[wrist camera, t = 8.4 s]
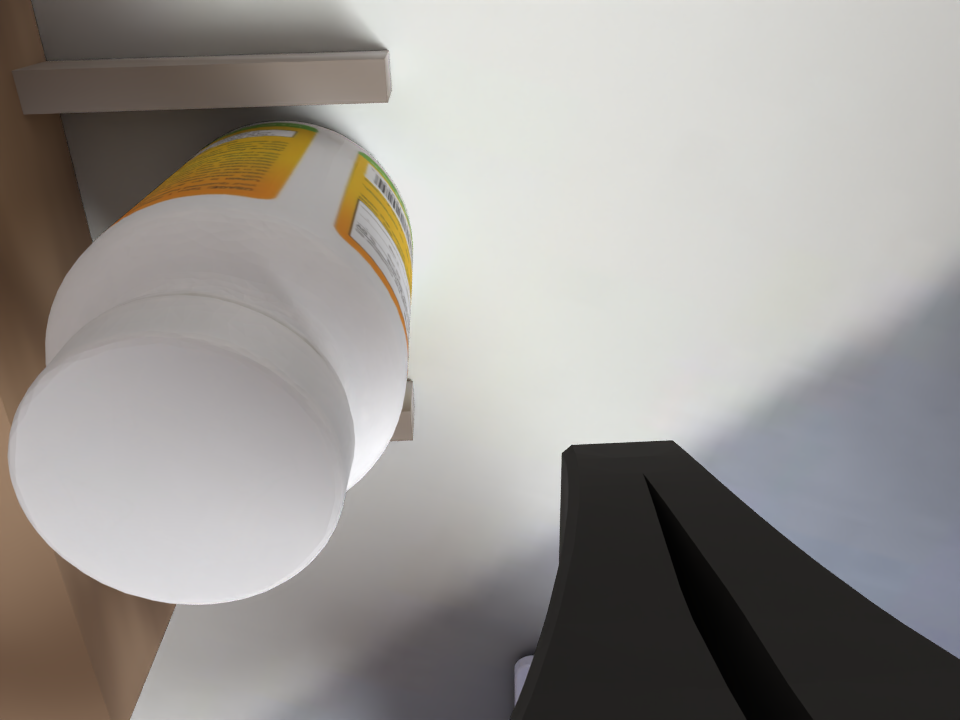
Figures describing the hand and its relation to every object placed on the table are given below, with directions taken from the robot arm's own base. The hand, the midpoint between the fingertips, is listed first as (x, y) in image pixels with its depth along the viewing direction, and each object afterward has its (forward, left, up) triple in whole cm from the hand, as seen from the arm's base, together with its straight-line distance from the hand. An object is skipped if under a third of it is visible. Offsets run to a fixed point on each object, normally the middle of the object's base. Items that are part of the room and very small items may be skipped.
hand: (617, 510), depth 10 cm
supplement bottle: (0, +5, -10) cm, 11 cm away
